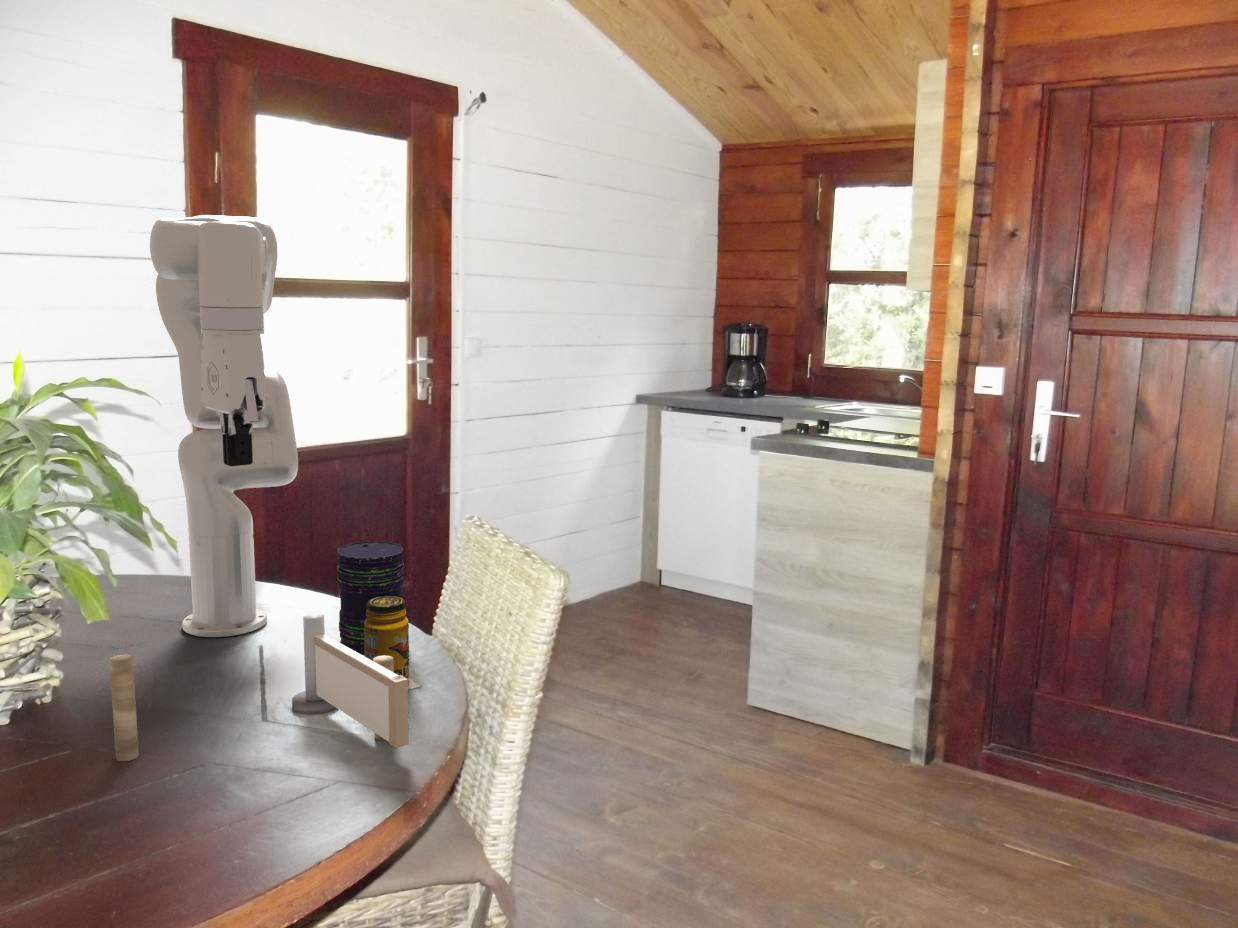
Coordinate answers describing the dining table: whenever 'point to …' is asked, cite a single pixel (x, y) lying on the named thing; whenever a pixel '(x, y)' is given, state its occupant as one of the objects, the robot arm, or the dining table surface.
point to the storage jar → (366, 584)
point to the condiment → (388, 633)
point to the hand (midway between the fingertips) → (238, 464)
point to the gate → (354, 684)
